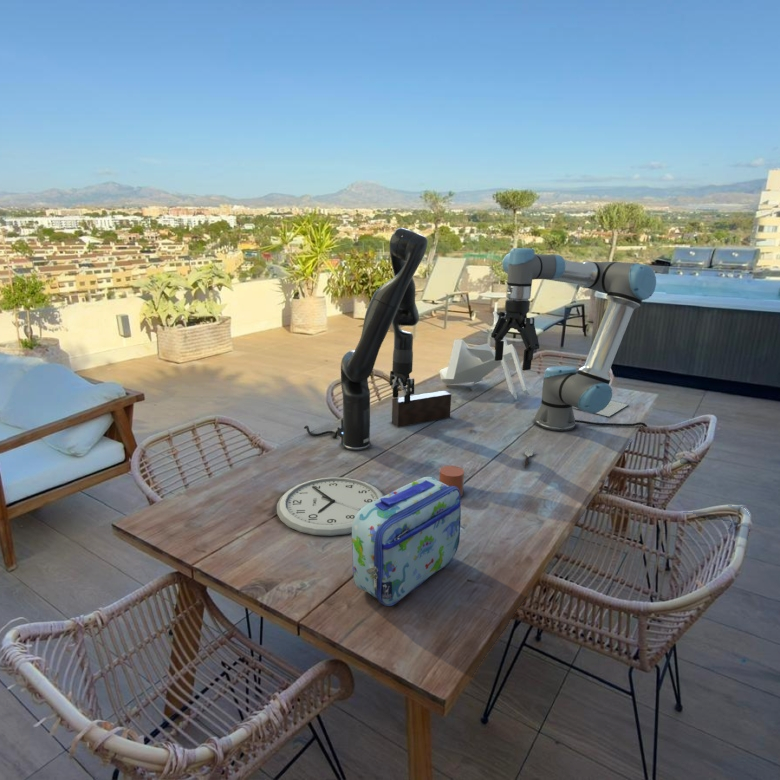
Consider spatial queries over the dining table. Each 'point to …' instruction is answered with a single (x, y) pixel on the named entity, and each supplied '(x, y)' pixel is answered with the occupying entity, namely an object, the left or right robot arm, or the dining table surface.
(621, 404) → the invitation card
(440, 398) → the walnut box
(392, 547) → the lunch box
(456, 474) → the orange clay cylinder
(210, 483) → the dining table surface
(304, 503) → the wall clock
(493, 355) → the white plastic object
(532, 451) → the fork
